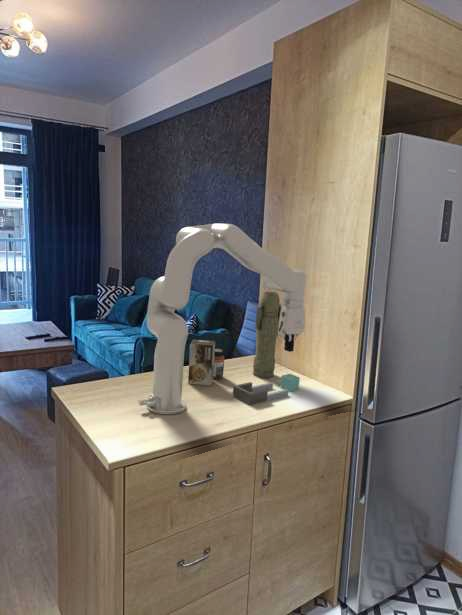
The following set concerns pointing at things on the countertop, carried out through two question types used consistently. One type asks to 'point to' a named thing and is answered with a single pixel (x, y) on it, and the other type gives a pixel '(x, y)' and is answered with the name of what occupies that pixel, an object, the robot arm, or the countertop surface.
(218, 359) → the supplement bottle
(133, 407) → the countertop surface
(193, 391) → the countertop surface
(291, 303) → the robot arm
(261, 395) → the channel
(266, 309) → the thermos
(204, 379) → the coffee box
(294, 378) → the teal block
